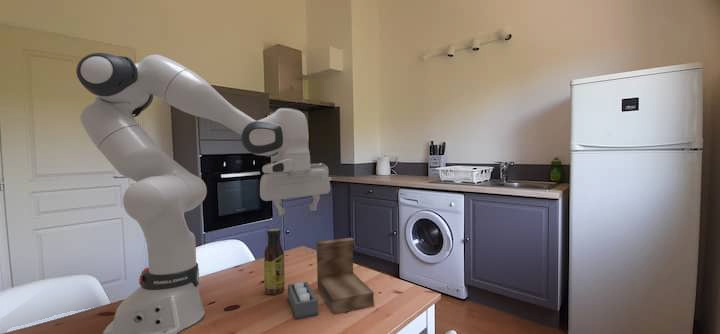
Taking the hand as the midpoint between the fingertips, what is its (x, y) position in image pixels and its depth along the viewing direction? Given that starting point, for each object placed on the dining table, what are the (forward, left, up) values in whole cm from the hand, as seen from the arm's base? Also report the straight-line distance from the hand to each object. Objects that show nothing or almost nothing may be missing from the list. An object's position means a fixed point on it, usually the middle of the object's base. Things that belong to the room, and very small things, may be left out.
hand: (298, 212), depth 94 cm
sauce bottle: (-6, +13, -27) cm, 31 cm away
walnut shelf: (+13, 0, -27) cm, 30 cm away
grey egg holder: (0, -1, -27) cm, 27 cm away
